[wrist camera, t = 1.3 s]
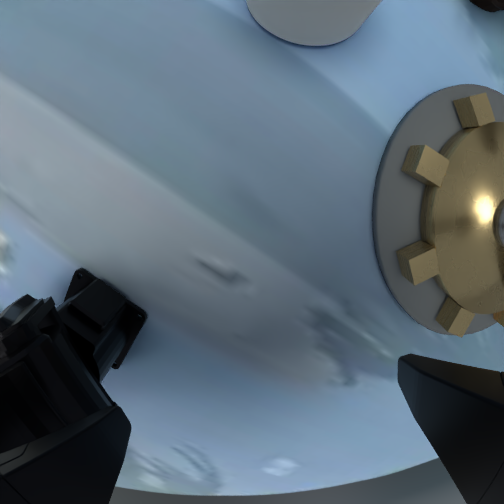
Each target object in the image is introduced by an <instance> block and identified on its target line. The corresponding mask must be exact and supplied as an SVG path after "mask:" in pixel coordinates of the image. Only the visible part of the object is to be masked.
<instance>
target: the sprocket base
mask: <svg viewBox="0 0 504 504" xmlns="http://www.w3.org/2000/svg"><path fill="white" fill-rule="evenodd" d="M481 93H486V94H487V97H488V100H489V103H490V105H491V108H492V111H493V115H494V118H495V121H494V122H504V95H503V94H501V93H499V92H497V91H495V90H493V89H490V88H488V87H485V86H480V85H474V84H461V85H456V86H452V87H448V88H445V89H442V90H439V91H437V92H435V93H432V94H430V95H428V96H427V97H425V98H424V99H422V100H421V101H419V102H418V103H417V104H416V105H415V106H414V107H413V108H412V109H411V110H410V111H409V112H407V114H406V115H405V116H404V117H403V119H402V120H401V121H400V123H399V124H398V125H397V127H396V129H395V131H394V132H393V134H392V136H391V138H390V140H389V141H388V144H387V146H386V149H385V151H384V154H383V156H382V159H381V162H380V166H379V170H378V173H377V177H376V183H375V189H374V195H373V211H372V222H373V237H374V244H375V251H376V255H377V259H378V262H379V266H380V269H381V272H382V274H383V277H384V279H385V282H386V284H387V286H388V287H389V289H390V291H391V293H392V294H393V296H394V297H395V299H396V300H397V301H398V302H399V304H400V305H401V306H402V307H403V309H404V310H405V311H406V312H407V313H408V314H409V315H410V316H411V317H412V318H414V319H415V320H416V321H417V322H418V323H419V324H421V325H423V326H424V327H426V328H427V329H430V330H432V331H435V332H437V333H441V334H446V335H454V334H452V333H449V332H447V331H446V330H445V329H444V328H443V327H442V326H441V325H440V324H439V323H438V322H437V321H436V320H435V319H436V317H437V315H438V314H439V312H440V310H441V308H442V306H443V305H444V303H445V301H446V299H447V297H449V296H448V295H447V294H446V293H444V292H443V291H442V290H441V288H440V287H439V286H438V285H437V283H436V282H435V280H434V279H433V277H431V278H429V279H427V280H425V281H423V282H421V283H419V284H417V285H415V286H414V285H413V284H412V283H411V282H409V281H408V280H407V279H406V278H405V277H403V276H402V274H401V270H400V266H399V262H398V258H397V254H396V251H398V250H400V249H402V248H404V247H406V246H409V245H411V244H413V243H415V242H417V241H419V240H421V232H420V217H421V205H422V199H423V193H424V189H425V184H423V183H421V182H420V181H418V180H416V179H415V178H413V177H411V176H410V175H408V174H406V173H404V172H403V171H401V169H402V167H403V164H404V162H405V159H406V156H407V154H408V151H409V148H410V146H412V145H427V146H429V147H430V148H432V149H433V150H435V151H436V152H438V153H439V152H440V151H441V149H442V148H443V146H444V145H445V144H446V143H447V141H448V140H449V139H450V138H451V137H452V136H453V135H455V134H456V133H457V132H458V131H460V130H462V129H464V128H462V125H461V122H460V119H459V116H458V113H457V110H456V107H455V105H454V102H453V100H457V99H461V98H464V97H468V96H472V95H477V94H481ZM450 298H451V297H450ZM496 322H497V321H496V320H494V319H493V314H477V313H475V316H474V318H473V320H472V321H471V323H470V325H469V327H468V328H467V330H466V332H465V333H464V335H465V334H472V333H475V332H478V331H481V330H483V329H485V328H488V327H490V326H492V325H493V324H495V323H496Z"/></svg>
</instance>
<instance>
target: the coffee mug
mask: <svg viewBox="0 0 504 504" xmlns="http://www.w3.org/2000/svg"><path fill="white" fill-rule="evenodd" d="M470 1H471V2H472V3H474V4H475V5H476V6H478V7H480V8H481V9H483V10H486V11H489V12H495V11H499V10H504V0H470Z"/></svg>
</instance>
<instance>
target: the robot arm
mask: <svg viewBox="0 0 504 504" xmlns="http://www.w3.org/2000/svg"><path fill="white" fill-rule="evenodd" d="M79 273H80V274H81V275H82V277H80V275H79ZM54 305H55V303H54V301H53V299H52V297H49V298H46V299H44V300H43V298H42V299H39V300H37V299H34V298H33V297H31V296H30V295H28V294H26V295H24V296H22V297H21V298H19V299H18V300H16V301H15V302H13V303H12V304H11V305H9V306H8V307H7V308H5V309H4V310H3V311H2V313H1V314H0V504H109V501H110V498H111V496H112V493H113V490H114V487H115V484H116V481H117V479H118V476H119V473H120V470H121V468H122V465H123V462H124V458H125V454H126V450H127V446H128V441H129V437H130V433H131V424H130V421H129V420H128V418H127V417H126V415H125V413H124V412H123V410H122V408H121V407H119V406H118V405H117V404H116V403H115V402H113V401H112V399H111V398H110V397H109V395H108V394H107V392H106V391H105V389H104V388H103V387H102V385H101V382H102V380H103V379H104V377H105V376H106V374H107V373H108V371H109V369H110V368H111V367H112V368H114V369H118V368H119V367H120V365H121V364H122V362H123V360H124V358H125V356H126V355H127V353H128V351H129V349H130V347H131V346H132V344H133V342H134V340H135V338H136V337H137V335H138V333H139V331H140V329H141V328H142V326H143V324H144V322H145V321H146V319H147V314H146V312H145V311H143V310H142V309H140V308H139V307H137V306H136V305H134V304H133V303H131V302H130V301H128V300H127V299H126V298H125V297H124V296H123V295H121V294H120V293H118V292H117V291H115V290H114V289H113V288H111V287H110V286H108V285H107V284H105V283H104V282H103V281H101V280H100V279H97V278H95V277H94V276H93V275H91V274H90V273H88V272H87V271H86V270H84V269H82V268H80V269H78V270H76V271H75V273H74V275H73V278H72V281H71V283H70V286H69V289H68V291H67V294H66V297H65V300H64V302H63V303H62V304H61V305H60V306H59V307H57V308H55V306H54ZM138 315H141V316H142V318H139V317H138ZM114 362H115V363H116V364H115V363H114ZM398 383H399V386H400V388H401V390H402V392H403V395H404V397H405V399H406V401H407V403H408V405H409V408H410V410H411V412H412V414H413V416H414V418H415V420H416V421H417V423H418V425H419V426H420V428H421V429H422V431H423V432H424V434H425V436H426V437H427V439H428V440H429V442H430V444H431V445H432V447H433V448H434V450H435V452H436V453H437V455H438V456H439V458H440V460H441V461H442V463H443V464H444V466H445V468H446V469H447V471H448V473H449V474H450V476H451V478H452V479H453V481H454V483H455V484H456V486H457V488H458V489H459V491H460V493H461V494H462V496H463V498H464V500H465V501H466V503H467V504H504V372H501V373H500V372H499V371H493V370H488V369H482V368H477V367H472V366H467V365H461V364H456V363H452V362H447V361H442V360H437V359H433V358H428V357H423V356H419V355H414V354H407V355H404V356H401V357H400V358H399V359H398Z"/></svg>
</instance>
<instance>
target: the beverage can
mask: <svg viewBox="0 0 504 504" xmlns="http://www.w3.org/2000/svg"><path fill="white" fill-rule="evenodd" d="M381 1H382V0H246V2H247V6H248V8H249V11H250V13H251V14H252V16H253V17H254V19H255V20H256V21H257V22H258V23H259V24H260V25H261V26H262V27H263V28H265V29H266V30H267V31H269V32H270V33H272V34H273V35H275V36H277V37H279V38H281V39H284V40H286V41H289V42H292V43H296V44H301V45H308V46H324V45H331V44H335V43H338V42H341V41H343V40H345V39H347V38H349V37H350V36H352V35H353V34H354V33H355V32H356V31H357V30H358V29H359V28H360V26H361V25H362V24H363V23H364V22H365V20H366V19H367V18H368V17H369V15H370V14H371V13H372V12H373V11H374V9H375V8H376V7H377V6H378V5H379V3H380V2H381Z"/></svg>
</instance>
